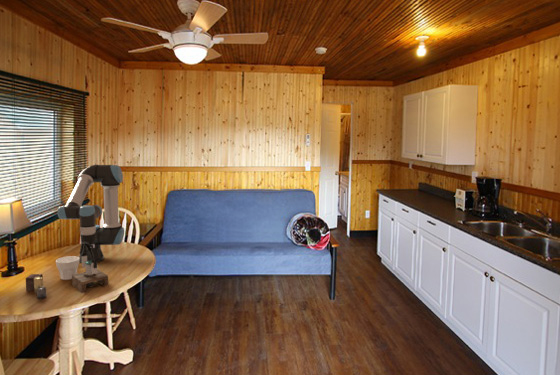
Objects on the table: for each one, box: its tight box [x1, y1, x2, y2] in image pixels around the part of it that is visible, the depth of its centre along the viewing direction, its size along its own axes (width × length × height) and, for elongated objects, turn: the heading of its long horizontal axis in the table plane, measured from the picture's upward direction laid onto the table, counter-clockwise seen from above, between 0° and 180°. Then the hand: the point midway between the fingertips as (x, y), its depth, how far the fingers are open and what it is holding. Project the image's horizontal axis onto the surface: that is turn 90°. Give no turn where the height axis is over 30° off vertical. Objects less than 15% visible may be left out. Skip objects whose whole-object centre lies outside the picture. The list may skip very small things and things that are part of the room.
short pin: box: [36, 286, 47, 300], centre depth 198 cm, size 4×4×5 cm
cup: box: [55, 255, 80, 281], centre depth 225 cm, size 12×12×11 cm
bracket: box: [71, 269, 109, 293], centre depth 215 cm, size 14×14×6 cm
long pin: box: [85, 260, 95, 288], centre depth 214 cm, size 4×4×14 cm
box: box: [25, 273, 43, 292], centre depth 208 cm, size 6×6×7 cm
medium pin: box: [34, 277, 44, 295], centre depth 203 cm, size 4×4×8 cm
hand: (89, 270), depth 214 cm, fingers open, 13 cm apart
